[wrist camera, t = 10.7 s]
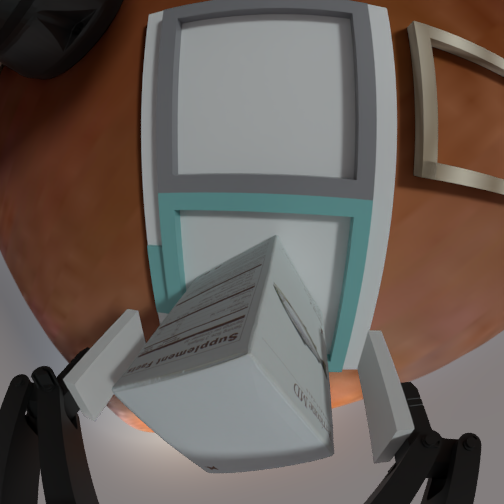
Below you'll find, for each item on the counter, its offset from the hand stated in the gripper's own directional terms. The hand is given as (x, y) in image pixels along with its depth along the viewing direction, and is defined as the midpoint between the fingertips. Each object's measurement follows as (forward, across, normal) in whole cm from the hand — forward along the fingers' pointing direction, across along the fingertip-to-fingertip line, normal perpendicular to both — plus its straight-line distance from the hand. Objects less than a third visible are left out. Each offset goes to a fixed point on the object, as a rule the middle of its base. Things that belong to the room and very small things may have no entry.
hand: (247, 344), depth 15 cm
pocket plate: (+8, 0, +7) cm, 11 cm away
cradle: (+8, +17, +15) cm, 24 cm away
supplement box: (+7, 0, 0) cm, 7 cm away
